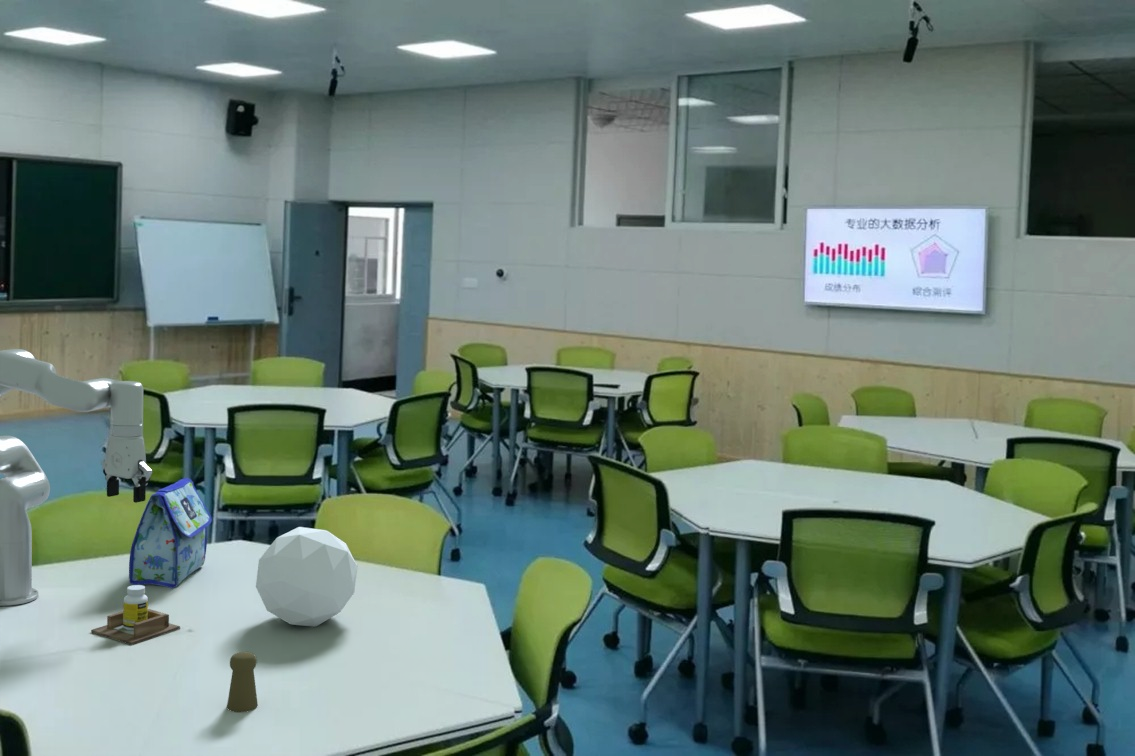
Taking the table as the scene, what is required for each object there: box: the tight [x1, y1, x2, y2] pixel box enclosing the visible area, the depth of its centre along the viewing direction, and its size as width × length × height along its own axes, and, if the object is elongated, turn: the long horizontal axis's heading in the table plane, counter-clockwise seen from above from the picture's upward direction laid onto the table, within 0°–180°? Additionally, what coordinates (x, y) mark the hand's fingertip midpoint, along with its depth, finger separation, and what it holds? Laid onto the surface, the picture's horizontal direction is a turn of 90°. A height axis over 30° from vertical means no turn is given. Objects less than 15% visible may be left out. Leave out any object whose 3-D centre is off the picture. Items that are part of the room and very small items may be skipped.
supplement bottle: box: [122, 584, 149, 630], centre depth 261 cm, size 5×5×10 cm
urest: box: [90, 608, 181, 646], centre depth 262 cm, size 14×14×4 cm
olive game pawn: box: [226, 651, 259, 713], centre depth 222 cm, size 6×6×11 cm
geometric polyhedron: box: [255, 526, 358, 627], centre depth 273 cm, size 24×25×25 cm
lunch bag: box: [128, 477, 213, 589], centre depth 304 cm, size 22×17×26 cm
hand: (126, 498), depth 274 cm, fingers open, 9 cm apart
